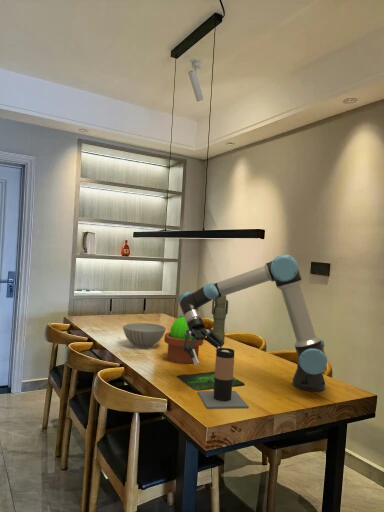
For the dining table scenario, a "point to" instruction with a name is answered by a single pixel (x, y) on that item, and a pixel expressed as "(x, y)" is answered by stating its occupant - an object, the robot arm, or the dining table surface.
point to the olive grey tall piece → (219, 316)
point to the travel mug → (223, 374)
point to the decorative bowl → (143, 334)
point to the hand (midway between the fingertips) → (210, 362)
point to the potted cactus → (180, 342)
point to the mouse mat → (203, 381)
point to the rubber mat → (215, 404)
